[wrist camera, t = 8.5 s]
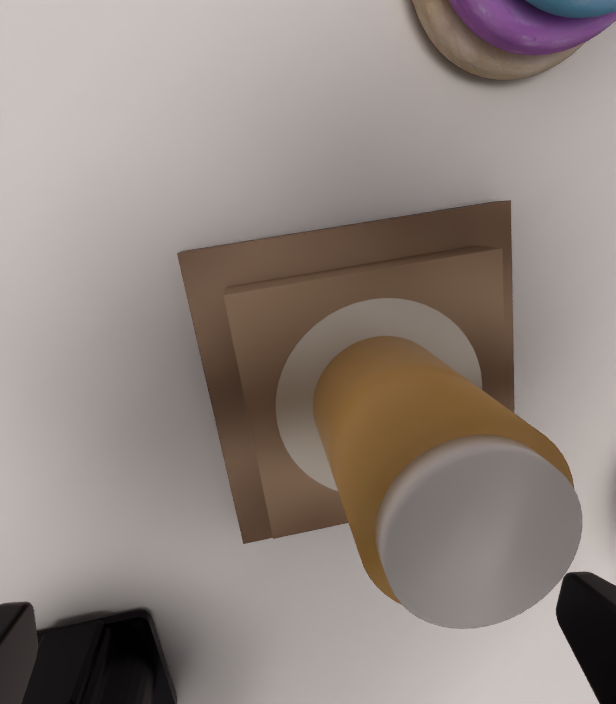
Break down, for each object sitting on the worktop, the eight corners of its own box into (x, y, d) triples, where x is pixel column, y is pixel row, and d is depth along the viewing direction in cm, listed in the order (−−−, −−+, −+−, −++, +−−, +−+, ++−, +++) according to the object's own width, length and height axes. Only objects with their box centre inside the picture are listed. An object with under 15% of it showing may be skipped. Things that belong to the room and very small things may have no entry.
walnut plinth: (502, 472, 23) (542, 512, 20) (243, 527, 22) (243, 578, 19) (494, 201, 19) (543, 198, 16) (181, 251, 18) (167, 258, 15)
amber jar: (466, 353, 17) (638, 460, 10) (421, 474, 19) (543, 653, 11) (335, 320, 16) (413, 410, 9) (296, 450, 18) (335, 629, 10)
